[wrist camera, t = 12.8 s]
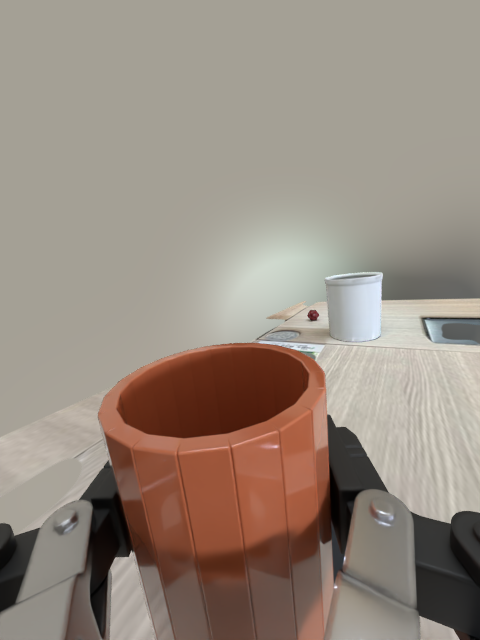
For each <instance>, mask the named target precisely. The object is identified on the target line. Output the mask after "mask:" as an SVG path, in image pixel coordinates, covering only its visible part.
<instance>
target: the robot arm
mask: <svg viewBox="0 0 480 640" xmlns="http://www.w3.org/2000/svg"><path fill="white" fill-rule="evenodd" d="M327 425H328V451H329V476H330V502H331V521H332V524H333V528H334V531H335V535H336V538H337V542H338V545H339V549H340V552H341V554H345V556H344V562H343V567H342V570H340V569H339V570H338V573H337V576H336V580H335V584H334V589H333V594H332V599H331V604H330V609H329V614H328V619H327V624H326V629H325V634H324V639H323V640H421V639H420V620H419V616H422V617H424V618H427V619H429V620H432V621H435V622H437V623H440V624H442V625H445V626H447V627H450V628H453V629H454V631H455V632H456V634H457V636H458V637H459V639H460V640H480V513H477V512H472V511H462V512H458V513H456V514H455V515H454V516H453V517H452V519H451V524H449V523H445V522H441V521H437V520H433V519H429V518H425V517H422V516H419V515H417V514H414V513H412V512H410V511H409V509H408V508H407V507H406V505H405V504H404V503H403V502H402V501H400V500H399V499H398V498H397V497H395V496H394V495H392V494H390V493H389V492H388V491H387V489H386V487H385V485H384V484H383V482H382V480H381V478H380V477H379V475H378V473H377V471H376V470H375V468H374V466H373V464H372V463H371V461H370V459H369V457H367V454H366V452H365V450H364V449H363V448H362V445H361V443H360V442H359V440H358V438H357V436H356V435H355V434H354V433H352V432H351V431H350V430H349V429H347V428H346V427H336V426H335V424H334V422H333V420H332V418H331V416H330V415H327ZM131 550H132V549H131V545H130V541H129V537H128V533H127V529H126V525H125V522H124V518H123V514H122V510H121V506H120V502H119V498H118V494H117V490H116V487H115V483H114V479H113V475H112V471H111V467H110V463H109V460H108V462H107V463H106V464H105V466H104V469H102V470H101V471H100V472H99V474H98V475H97V476H96V478H95V479H94V480H93V482H92V483H91V484H90V486H89V487H88V489H87V490H86V491H85V493H84V494H83V495H82V497H81V498H80V499H79V500H77V501H74V502H71V503H68V504H66V505H64V506H63V507H61V508H59V509H58V510H57V511H55V512H54V513H53V514H52V515H51V516H50V517H49V518H48V519H47V520H46V521H45V522H44V523H43V525H42V526H41V528H38V529H34V530H31V531H28V532H25V533H22V534H19V535H16V536H14V533H13V531H12V528H11V526H10V525H9V524H3V523H1V524H0V640H110V613H111V585H112V573H111V570H110V567H111V565H112V563H113V561H114V559H115V557H129V555H130V552H131Z"/></svg>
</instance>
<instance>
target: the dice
mask: <svg viewBox="0 0 480 640" xmlns="http://www.w3.org/2000/svg"><path fill="white" fill-rule="evenodd" d="M307 316H308V317H309V318H310V320H317V318H318V316H319V314H318V313H317V312H316V310H310V311H309V313H308V315H307Z"/></svg>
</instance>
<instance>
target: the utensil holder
mask: <svg viewBox="0 0 480 640" xmlns="http://www.w3.org/2000/svg"><path fill="white" fill-rule="evenodd" d="M382 278H383V274H382V273H380V272H364V273H351V274H342V275H335V276H330V277H327V278H325V283H326V288H327V289H326V290H327V303H328V318H329V327H330V335H331V337H333V338H334V339H337V340H341V341H350V342H362V341H369V340H373V339H376V338H378V337H379V336H380V334H381V280H382Z"/></svg>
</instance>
